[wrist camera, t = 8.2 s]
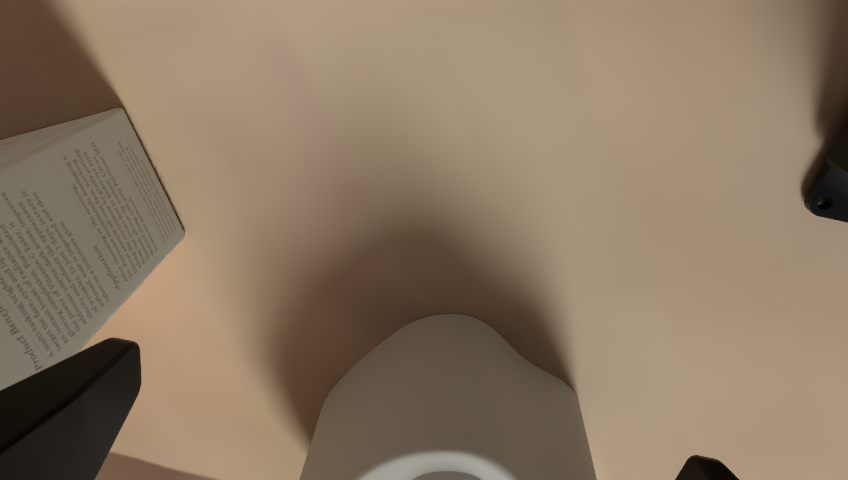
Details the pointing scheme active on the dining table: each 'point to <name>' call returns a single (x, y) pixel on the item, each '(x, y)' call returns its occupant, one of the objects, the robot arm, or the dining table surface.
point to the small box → (74, 236)
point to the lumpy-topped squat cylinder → (448, 412)
